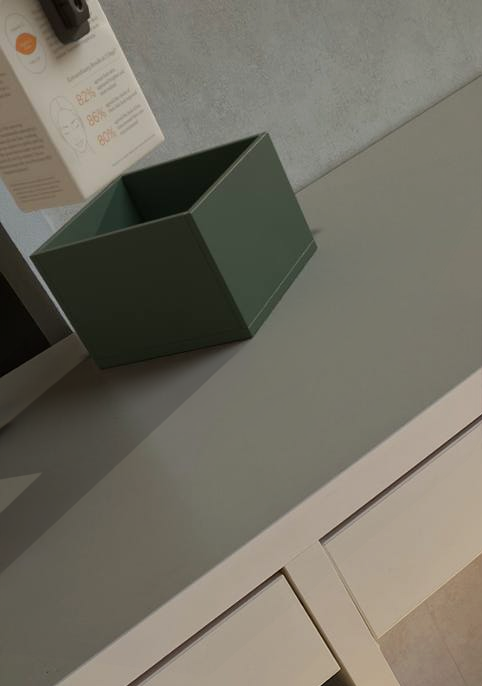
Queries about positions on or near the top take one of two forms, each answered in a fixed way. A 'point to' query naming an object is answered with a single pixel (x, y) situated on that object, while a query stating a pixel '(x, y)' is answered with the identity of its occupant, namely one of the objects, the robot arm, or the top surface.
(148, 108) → the small box
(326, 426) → the top surface
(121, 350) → the bin
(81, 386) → the top surface
